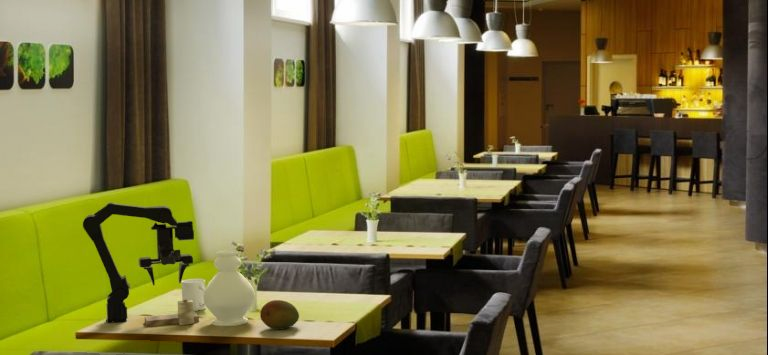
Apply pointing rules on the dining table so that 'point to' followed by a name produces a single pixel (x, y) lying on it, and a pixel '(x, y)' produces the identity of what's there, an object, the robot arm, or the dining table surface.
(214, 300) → the decorative vase
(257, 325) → the dining table surface
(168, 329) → the dining table surface
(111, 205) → the robot arm
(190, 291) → the mug
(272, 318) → the fruit
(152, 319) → the board
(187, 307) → the beige box with knob
